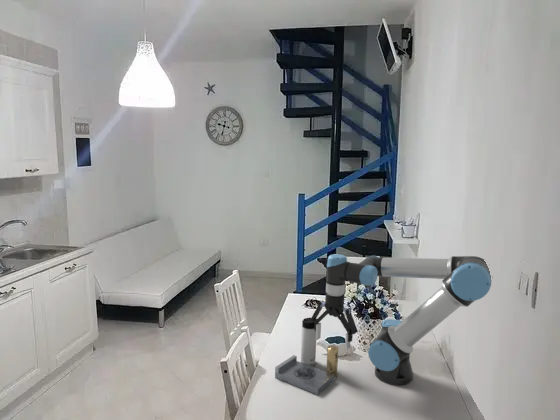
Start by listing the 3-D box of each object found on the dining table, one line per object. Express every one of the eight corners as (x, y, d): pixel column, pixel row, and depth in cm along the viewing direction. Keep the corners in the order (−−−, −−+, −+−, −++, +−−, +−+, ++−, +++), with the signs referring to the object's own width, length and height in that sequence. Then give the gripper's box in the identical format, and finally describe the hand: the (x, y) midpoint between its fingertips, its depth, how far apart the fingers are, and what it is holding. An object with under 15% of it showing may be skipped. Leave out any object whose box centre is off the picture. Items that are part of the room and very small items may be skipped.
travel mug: (315, 367, 181) (316, 322, 178) (299, 365, 182) (301, 320, 180) (316, 360, 187) (318, 316, 185) (302, 358, 189) (303, 315, 186)
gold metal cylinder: (339, 375, 176) (340, 347, 174) (333, 379, 172) (335, 351, 170) (329, 371, 178) (330, 344, 177) (324, 375, 175) (325, 348, 173)
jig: (334, 380, 171) (335, 370, 170) (317, 395, 161) (318, 383, 160) (293, 365, 183) (293, 355, 182) (275, 377, 172) (275, 367, 172)
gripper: (368, 298, 166) (364, 349, 169) (313, 284, 181) (311, 332, 184) (359, 303, 160) (356, 356, 163) (303, 288, 175) (301, 337, 178)
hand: (332, 343), depth 173 cm, fingers open, 13 cm apart
